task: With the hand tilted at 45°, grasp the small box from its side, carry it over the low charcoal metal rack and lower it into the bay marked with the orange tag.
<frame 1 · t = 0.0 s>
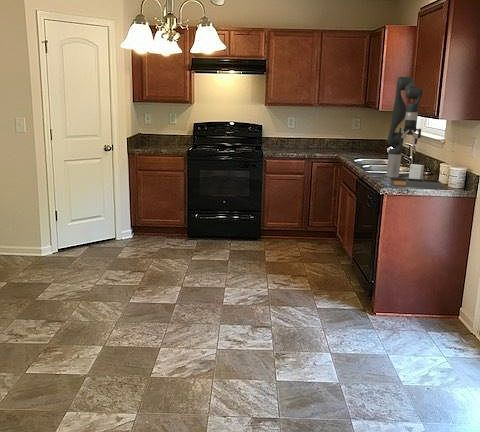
hand: (408, 144, 340), 29 cm above the table, tool pointing down, fingers open, 8 cm apart
rack: (414, 185, 354), on the table
small box: (415, 183, 366), on the table
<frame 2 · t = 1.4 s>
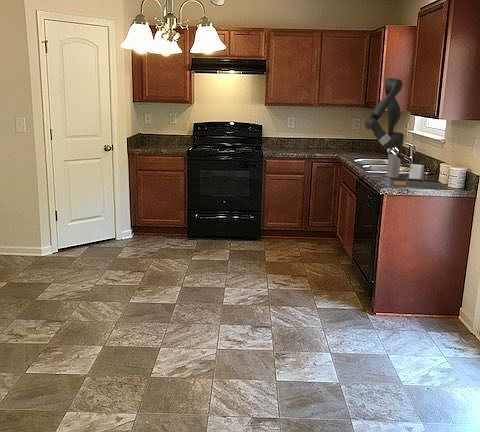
hand: (401, 158, 363), 17 cm above the table, tool tilted 45°, fingers open, 8 cm apart
nothing on the table moved.
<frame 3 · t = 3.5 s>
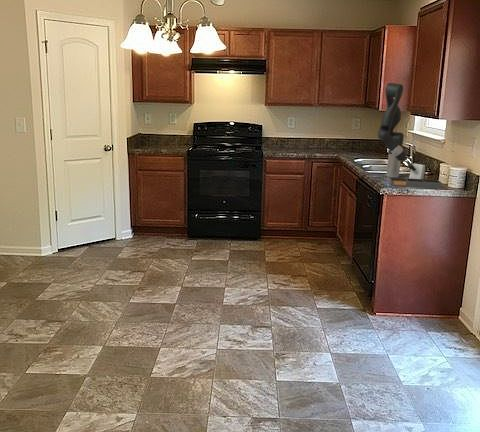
hand: (413, 169, 364), 10 cm above the table, tool tilted 45°, fingers open, 8 cm apart
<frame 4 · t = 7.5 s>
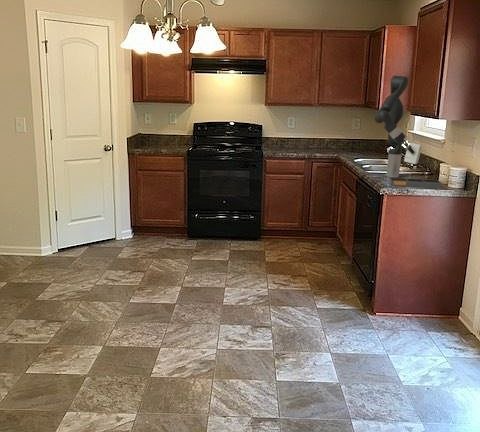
hand: (412, 152, 356), 22 cm above the table, tool tilted 45°, fingers closed on small box, 8 cm apart
small box: (410, 162, 357), point 15 cm above the table, touching gripper
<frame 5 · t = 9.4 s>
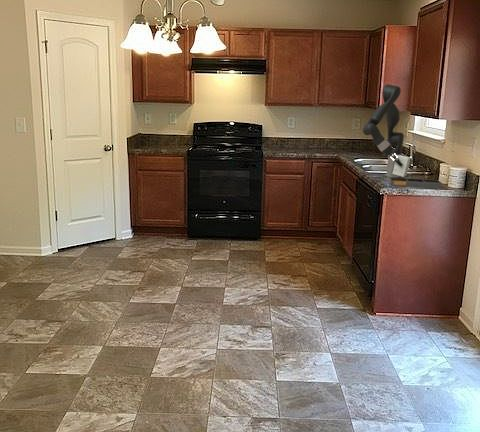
hand: (400, 164, 352), 14 cm above the table, tool tilted 45°, fingers closed on small box, 8 cm apart
small box: (399, 175, 354), point 7 cm above the table, touching gripper
when the fingers open (11 cm above the table, at t = 11.3 s): small box stays where it is, resting on rack.
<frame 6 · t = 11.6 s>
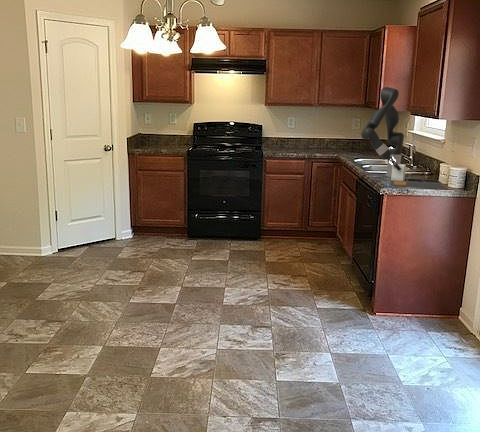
hand: (398, 168, 353), 11 cm above the table, tool tilted 45°, fingers open, 8 cm apart
small box: (397, 183, 355), point 1 cm above the table, touching rack
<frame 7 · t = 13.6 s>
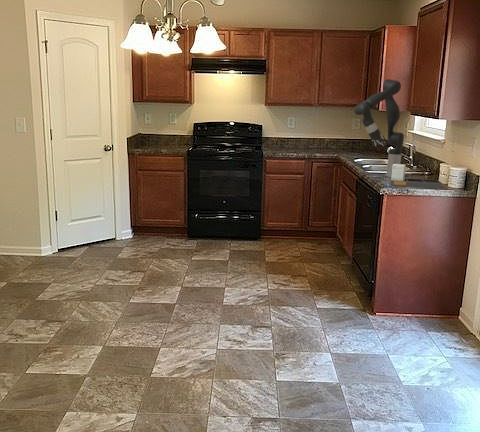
hand: (383, 150, 356), 23 cm above the table, tool tilted 35°, fingers open, 8 cm apart
nothing on the table moved.
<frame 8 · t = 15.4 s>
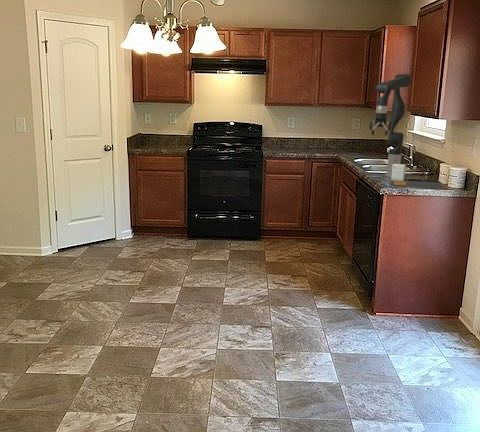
hand: (379, 135, 363), 32 cm above the table, tool pointing down, fingers open, 8 cm apart
nothing on the table moved.
at the end: small box 0.5 cm from the target spot on the rack, point 1.0 cm above the rack's base; small box tilted 0°; the gripper is holding nothing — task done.
